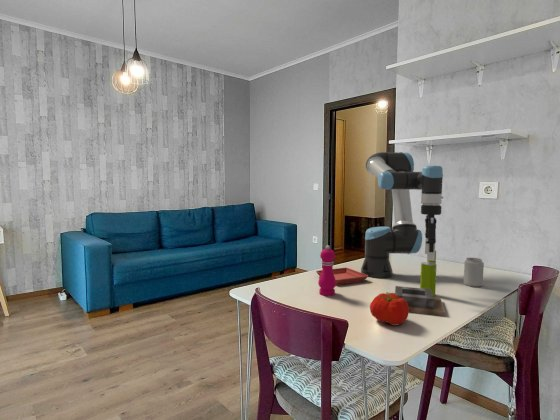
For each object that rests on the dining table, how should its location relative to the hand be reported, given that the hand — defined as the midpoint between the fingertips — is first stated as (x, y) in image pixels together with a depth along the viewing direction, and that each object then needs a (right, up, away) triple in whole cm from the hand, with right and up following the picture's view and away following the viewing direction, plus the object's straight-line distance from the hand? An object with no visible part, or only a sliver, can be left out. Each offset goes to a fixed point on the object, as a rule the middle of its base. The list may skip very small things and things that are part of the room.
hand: (429, 257), depth 145 cm
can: (+26, -15, +15) cm, 33 cm away
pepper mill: (-41, -15, +2) cm, 44 cm away
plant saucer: (-32, -14, +24) cm, 42 cm away
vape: (0, -16, +2) cm, 16 cm away
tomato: (-25, -18, -27) cm, 41 cm away
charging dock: (-11, -16, -12) cm, 23 cm away
